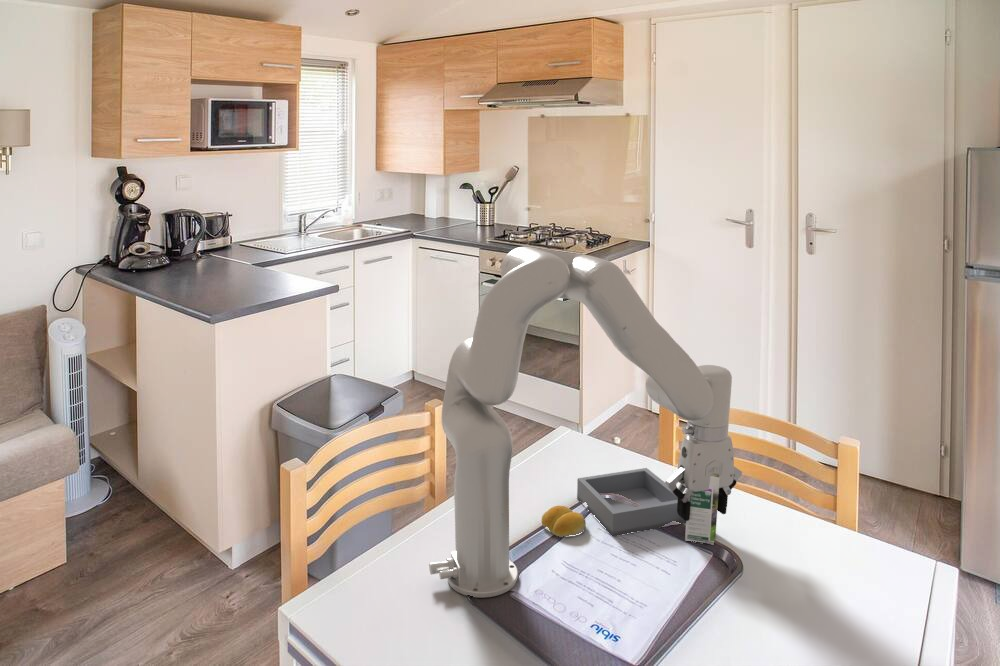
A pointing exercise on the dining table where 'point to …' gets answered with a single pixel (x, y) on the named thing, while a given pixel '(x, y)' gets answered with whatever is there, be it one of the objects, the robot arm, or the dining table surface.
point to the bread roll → (563, 521)
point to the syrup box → (703, 513)
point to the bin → (638, 488)
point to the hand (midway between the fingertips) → (701, 513)
